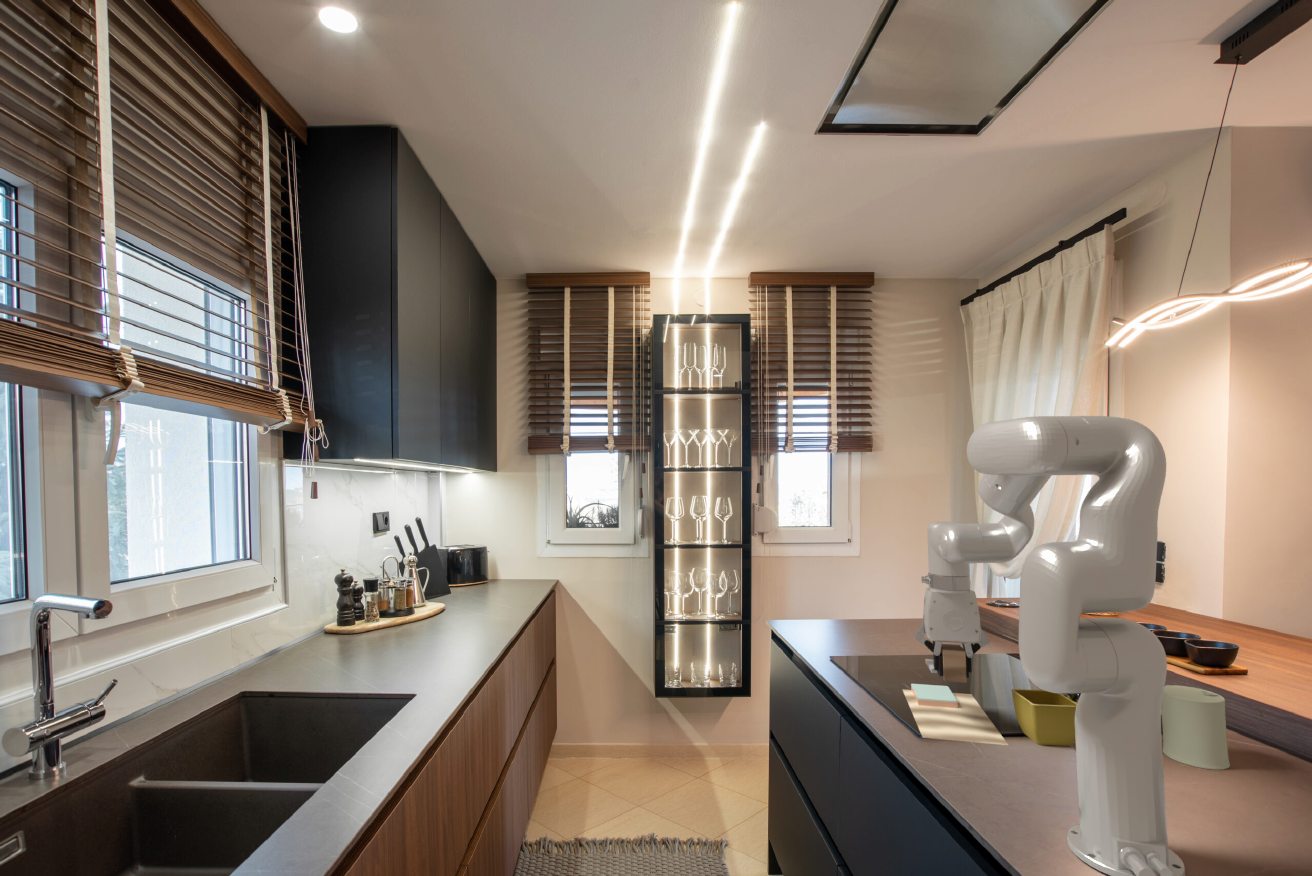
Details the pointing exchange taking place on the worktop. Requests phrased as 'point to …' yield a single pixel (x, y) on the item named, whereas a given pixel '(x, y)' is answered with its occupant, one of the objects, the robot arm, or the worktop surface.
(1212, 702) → the can
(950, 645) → the block on grey plate
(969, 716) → the board
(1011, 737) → the worktop surface
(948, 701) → the tile
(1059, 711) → the flower pot
